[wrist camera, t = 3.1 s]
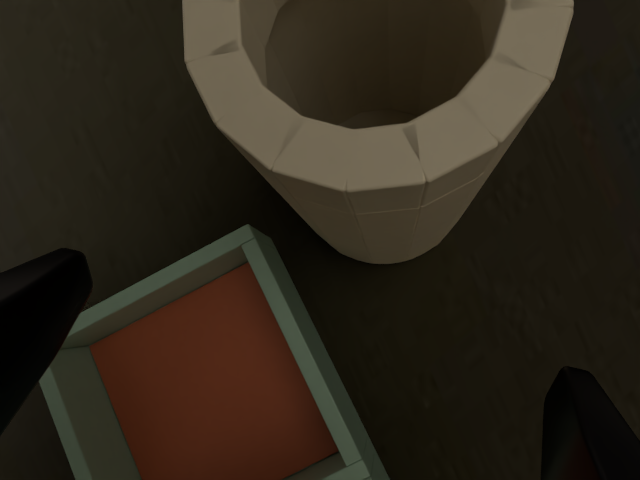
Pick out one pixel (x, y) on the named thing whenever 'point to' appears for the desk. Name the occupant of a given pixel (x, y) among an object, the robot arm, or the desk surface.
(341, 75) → the jar
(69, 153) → the desk surface
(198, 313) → the divided box
